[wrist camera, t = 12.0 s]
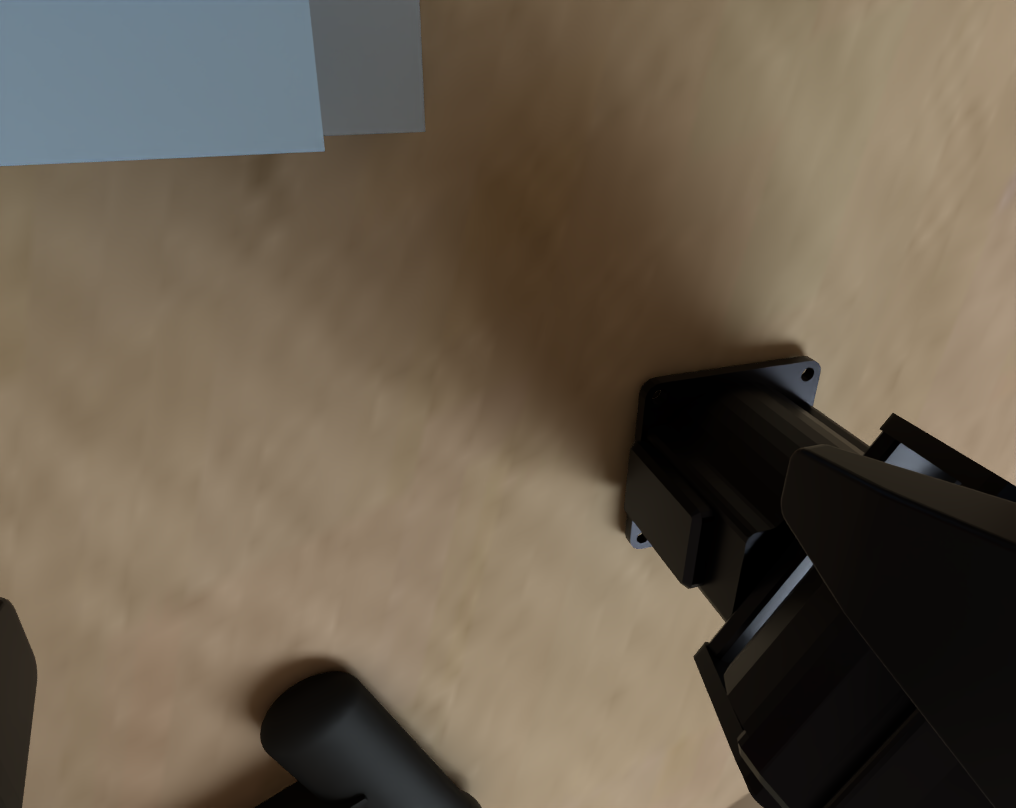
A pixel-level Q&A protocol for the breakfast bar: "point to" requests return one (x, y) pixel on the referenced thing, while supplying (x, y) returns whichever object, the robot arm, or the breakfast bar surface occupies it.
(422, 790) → the black flat piece
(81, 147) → the vise
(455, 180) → the breakfast bar surface
